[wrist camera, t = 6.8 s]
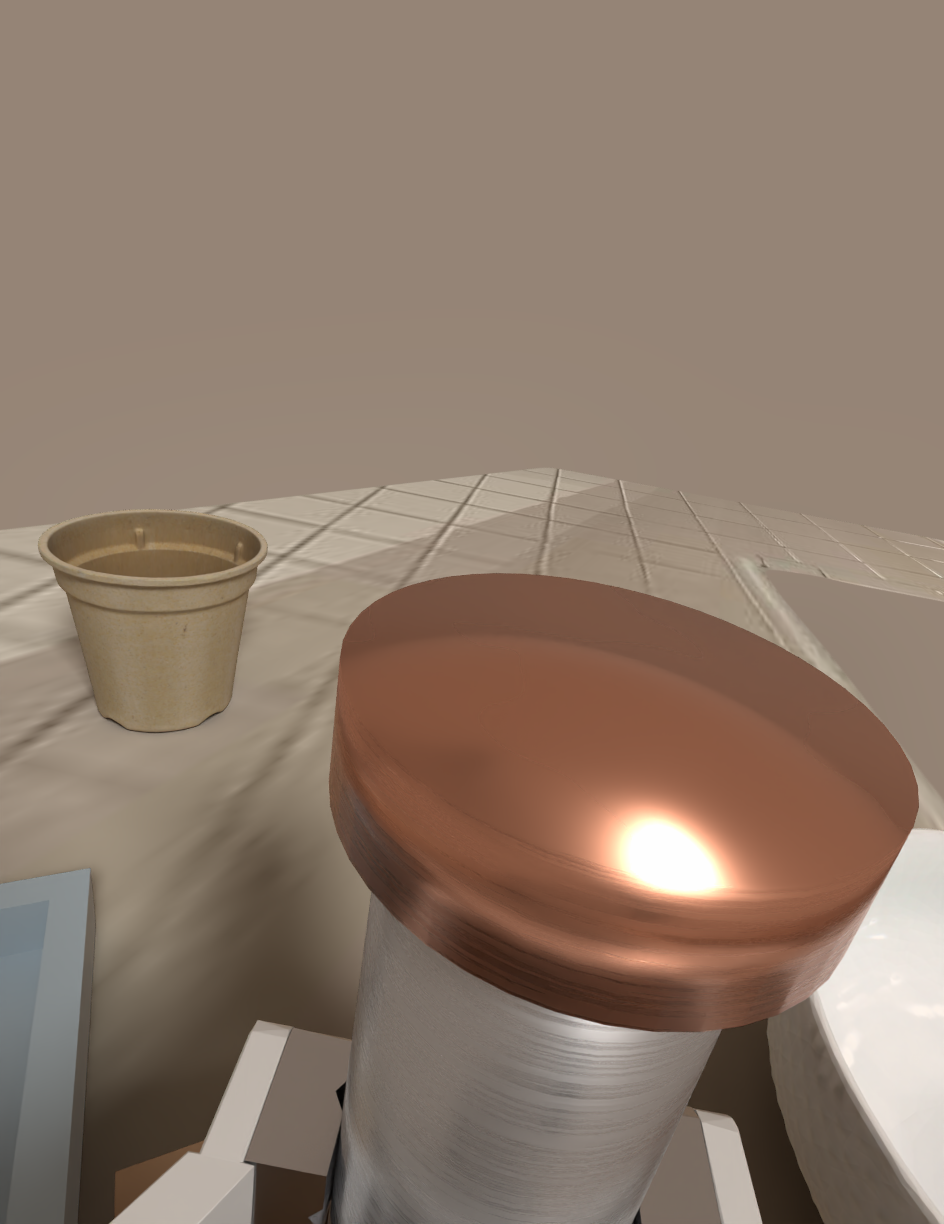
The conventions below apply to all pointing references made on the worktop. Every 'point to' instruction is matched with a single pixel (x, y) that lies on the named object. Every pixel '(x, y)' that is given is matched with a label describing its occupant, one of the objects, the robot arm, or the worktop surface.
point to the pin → (579, 882)
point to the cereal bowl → (874, 1057)
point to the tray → (44, 1043)
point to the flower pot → (157, 609)
